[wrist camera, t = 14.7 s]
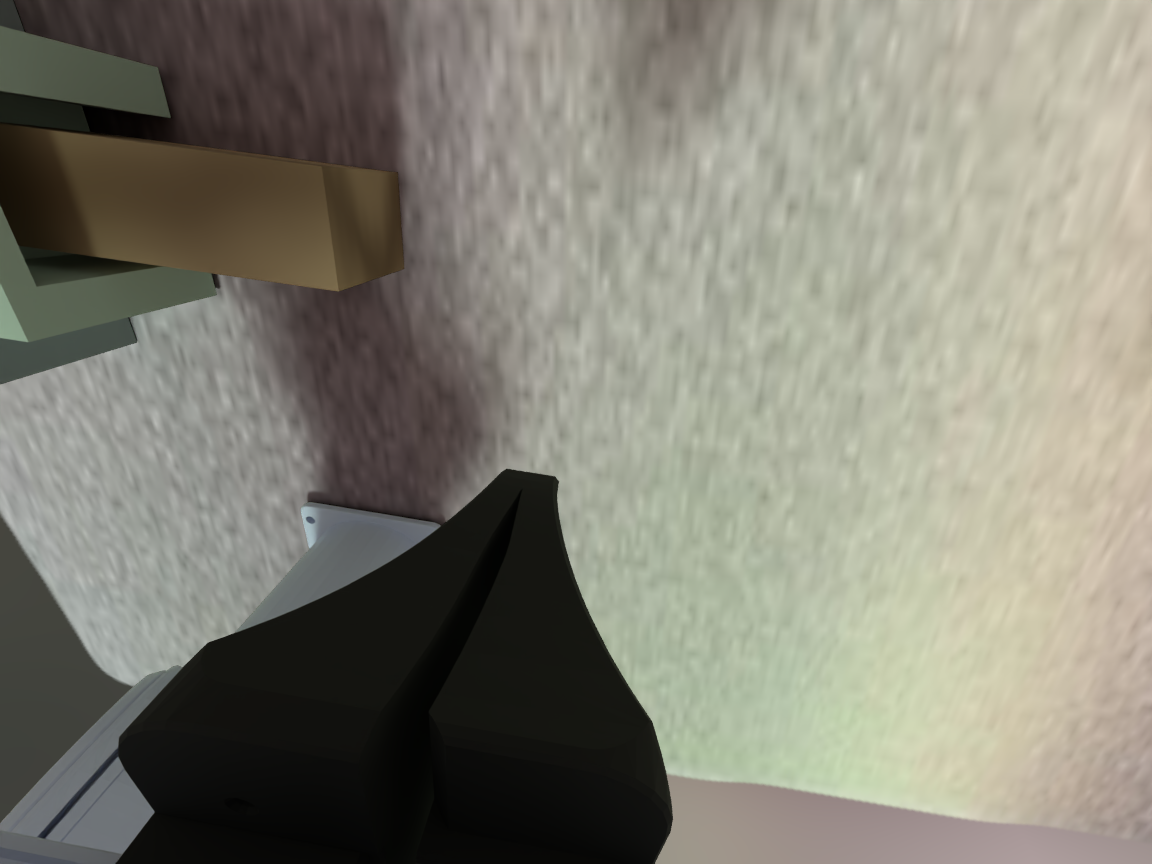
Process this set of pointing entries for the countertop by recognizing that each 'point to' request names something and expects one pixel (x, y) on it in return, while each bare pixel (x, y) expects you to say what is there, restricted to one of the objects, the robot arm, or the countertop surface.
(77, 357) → the board
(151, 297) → the block
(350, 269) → the bar
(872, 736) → the countertop surface
